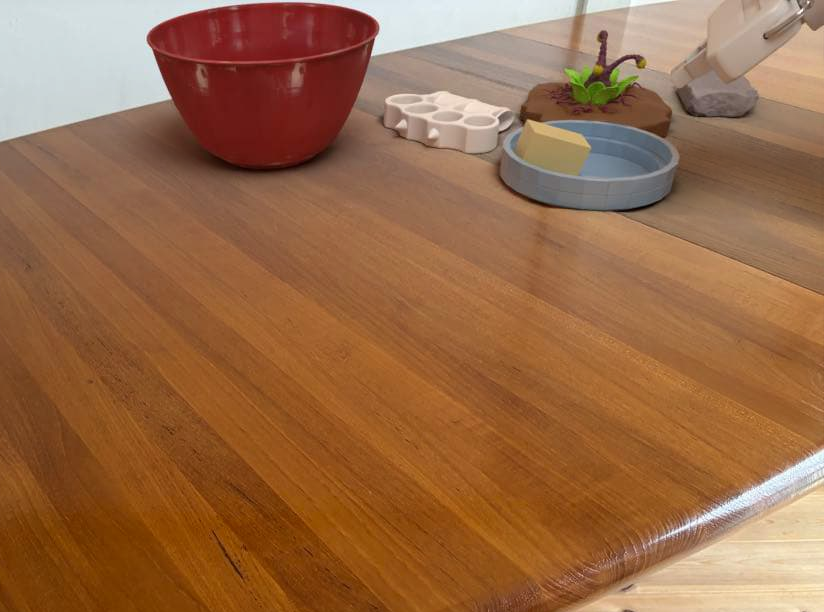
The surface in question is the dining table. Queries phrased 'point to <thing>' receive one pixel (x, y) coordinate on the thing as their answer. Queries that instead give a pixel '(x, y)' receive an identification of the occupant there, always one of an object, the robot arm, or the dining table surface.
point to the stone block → (717, 96)
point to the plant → (600, 97)
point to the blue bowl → (598, 169)
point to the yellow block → (552, 148)
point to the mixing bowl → (265, 77)
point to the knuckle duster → (447, 121)
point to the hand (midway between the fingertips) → (673, 80)
